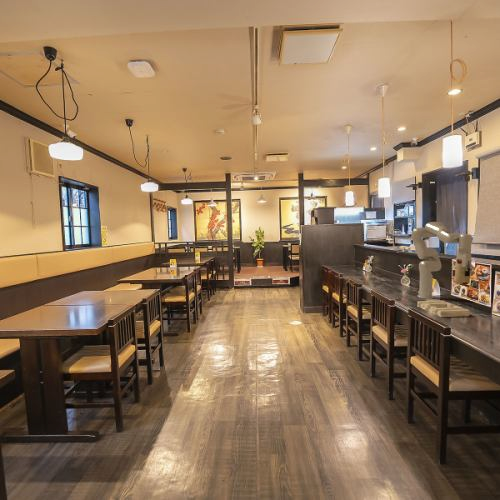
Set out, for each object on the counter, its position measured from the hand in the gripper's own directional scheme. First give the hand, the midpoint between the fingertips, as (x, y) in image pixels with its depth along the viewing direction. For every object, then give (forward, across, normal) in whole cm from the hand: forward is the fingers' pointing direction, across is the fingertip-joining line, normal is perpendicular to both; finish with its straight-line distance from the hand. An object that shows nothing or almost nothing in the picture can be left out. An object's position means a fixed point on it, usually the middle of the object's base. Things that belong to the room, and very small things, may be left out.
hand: (463, 275), depth 223 cm
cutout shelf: (+25, +6, -19) cm, 32 cm away
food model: (+7, 0, 0) cm, 7 cm away
